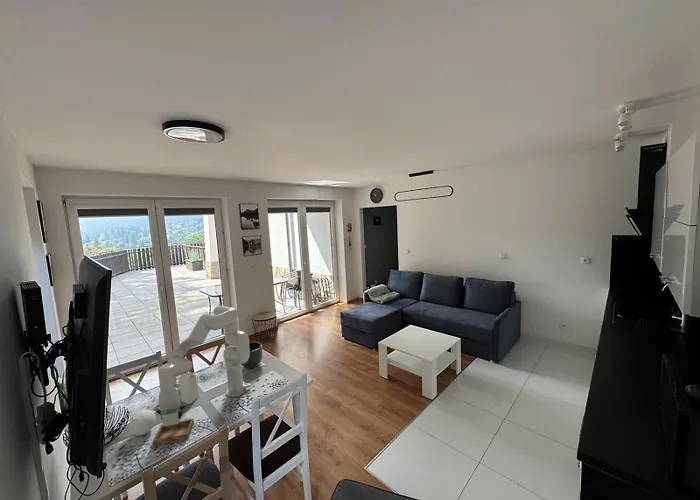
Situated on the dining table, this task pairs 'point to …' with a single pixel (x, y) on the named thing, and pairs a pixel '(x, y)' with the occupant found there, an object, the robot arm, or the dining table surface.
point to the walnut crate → (174, 432)
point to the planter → (254, 355)
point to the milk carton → (188, 387)
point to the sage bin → (170, 417)
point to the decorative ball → (142, 422)
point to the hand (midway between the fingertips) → (172, 418)
